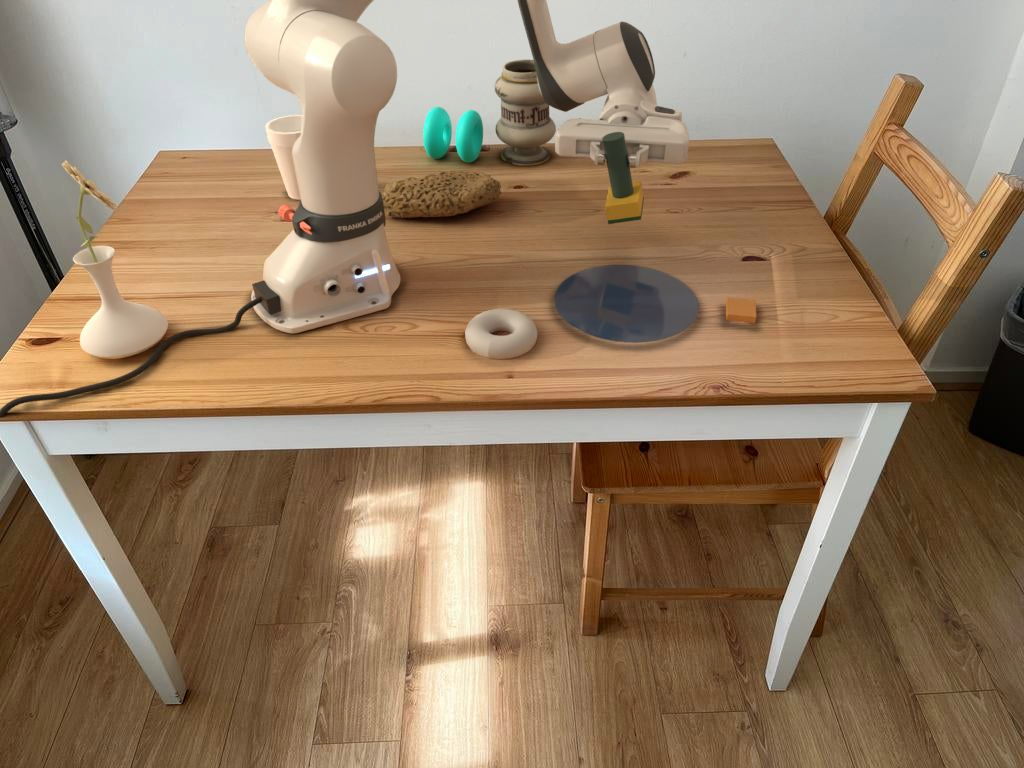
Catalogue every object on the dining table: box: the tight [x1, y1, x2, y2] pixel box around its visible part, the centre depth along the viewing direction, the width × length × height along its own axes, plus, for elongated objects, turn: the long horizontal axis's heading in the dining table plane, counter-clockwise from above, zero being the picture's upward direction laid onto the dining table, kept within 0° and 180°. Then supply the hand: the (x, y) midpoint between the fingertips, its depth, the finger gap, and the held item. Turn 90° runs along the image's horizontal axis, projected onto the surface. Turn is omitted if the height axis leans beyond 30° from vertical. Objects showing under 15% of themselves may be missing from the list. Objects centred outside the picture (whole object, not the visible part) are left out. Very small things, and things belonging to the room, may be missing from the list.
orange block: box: [725, 297, 757, 324], centre depth 110 cm, size 4×4×2 cm
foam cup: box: [264, 114, 302, 201], centre depth 141 cm, size 10×9×13 cm
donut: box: [464, 308, 539, 360], centre depth 105 cm, size 10×4×10 cm
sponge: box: [381, 170, 502, 219], centre depth 136 cm, size 13×8×20 cm
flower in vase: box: [61, 160, 169, 360], centre depth 100 cm, size 13×11×25 cm
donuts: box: [422, 106, 484, 163], centre depth 154 cm, size 10×10×10 cm
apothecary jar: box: [494, 58, 557, 167], centre depth 152 cm, size 12×12×18 cm
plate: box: [553, 264, 700, 344], centre depth 113 cm, size 21×21×1 cm
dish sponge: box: [602, 132, 645, 225], centre depth 115 cm, size 7×5×12 cm
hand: (616, 162), depth 112 cm, fingers closed on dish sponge, 4 cm apart
